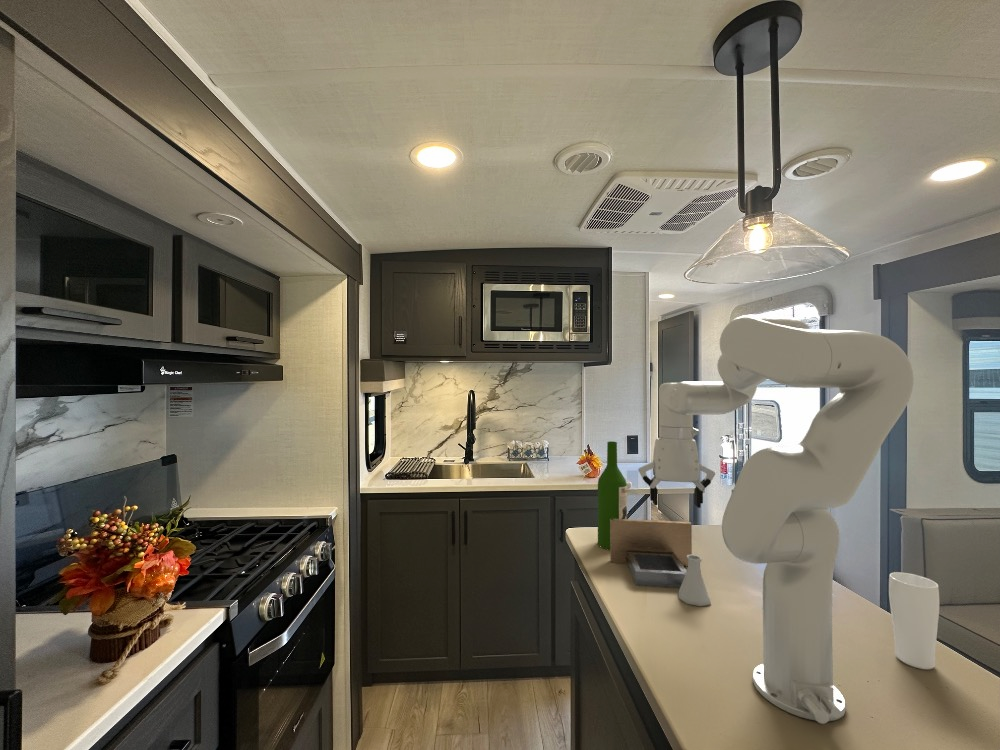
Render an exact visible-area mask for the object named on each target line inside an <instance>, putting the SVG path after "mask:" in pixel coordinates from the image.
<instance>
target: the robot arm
mask: <svg viewBox="0 0 1000 750" xmlns="http://www.w3.org/2000/svg"><path fill="white" fill-rule="evenodd" d="M719 349H720V352H721V355H720V356H719V358H718V360H717V363H716V364H717V371H718V375H719V376H720V378H721V379H722V380H720V381H713V380H712V381H710V380H709V381H707V380H706V381H700V380H699V381H698V380H697V381H679V382H664V383H662V384H660V386H659V388H658V405H659V406H658V409H659V411H658V422H659V423H658V429H659V431H658V432H659V433H658V435H659V437H656V438H655V441H654V448H653V457H652V462H649V463H647V464H645V465H643V466H641V467H639V468H638V473H639V474H640V476H641V478H642V480H643V481H644V482H645V484H647V485H648V487H649V500H650V501H652V504H653V505H654V506H658V500H659V499H658V494H659V492H658V488H657V486H658V485H659V483H661V482H672V483H673V482H674V483H693V485H695V487H694V489H693V491H694V493H693V496H694V497H693V499H694V501H693V502H694V503H693V504H694V506H696V508H697V509H698V508H699V509H700V508H702V507H701V504H703V503H704V491H705V489H706V488H707V487H708V486H710V485H711V483H712V480H713V479H714V477H715V476H716V472H715V471H714V470H712V469H710V468H708V467H706V466H705V465H702V464H700V460H699V451H698V445H697V441H696V440H695V439H694V437H695V436H700V430H699V429H698V428H694V426H693V421H694V419H693V417H694V416H700V415H705V416H706V415H714V416H718V415H725V414H730V413H732V412H733V411H736V410H738V409H740V408H741V407H743V406H745V405H747V404H748V403H750V402H751V400H753V398H754V396H755V394H756V391H757V388H758V385H760V384H762V383H763V382H765V381H767V380H769V381H771V382H774V383H777V384H780V385H782V386H786V387H791V388H802V389H803V388H806V389H807V388H814V389H815V388H817V389H818V388H819V389H821V388H824V389H825V388H829V389H831V388H832V389H833V388H834V389H835V388H839V390H838V392H837V394H836V395H834V397H833V398H831V399H830V400H828V402H826V403H825V404H824V405H823V407H821V408H820V409H819V411H818V412H817V413H816V414H815V416H814V418H813V419H812V421H811V423H810V426H809V428H808V431H807V432H806V434H805V436H804V437H803V439H802V440H801V441H800V442H799V443H798V444H795V445H793V446H792V445H791V446H773V447H772V446H771V447H766V448H763V449H760V450H758V451H756V452H754V453H753V454H752V455H751V456H750V457H748V459H747V460H746V461H745V462H744V464H743V466H742V468H741V470H740V473H739V475H738V477H737V480H736V482H735V484H734V488H733V490H732V491H731V494H730V497H729V499H728V502H727V504H726V506H725V510H724V512H723V517H722V521H721V533H722V538H723V543H724V544H725V546H726V548H727V549H728V551H729V552H730V553H731V555H733V556H734V557H736V558H737V559H739V560H741V561H742V562H744V563H745V562H746V563H750V564H754V565H755V564H759V565H760V564H765V568H764V571H763V577H762V659H763V660H762V663H761V664H759V665H756V667H755V668H753V671H752V680H753V681H752V682H753V685H754V687H755V689H756V690H757V692H759V693H760V695H761V696H762V697H763V698H765V699H766V700H767V701H768V702H769V703H771V704H773V705H774V706H775V707H777V708H779V709H781V710H783V711H784V712H787V713H789V714H792V715H794V716H796V717H798V718H799V717H800V718H802V719H803V718H804V719H807V720H811V721H816V722H818V723H819V724H823V725H824V724H827V723H828V722H832V721H836V720H840V719H841V718H842V717H844V715H845V713H846V711H847V710H846V708H847V707H846V699H845V698H844V695H843V694H842V693H841V692H840V690H839V689H838V688H837V687H836V686H835V685H834V673H833V672H834V668H833V667H834V665H833V663H834V661H833V660H834V659H833V658H834V656H833V655H834V654H833V653H834V651H833V650H834V649H833V648H834V647H833V582H834V578H833V577H834V573H835V572H834V571H835V570H834V569H835V566H836V564H835V563H836V561H837V557H838V551H839V547H840V531H839V527H838V526H839V525H838V523H837V521H836V519H835V518H834V516H833V514H831V512H829V511H830V510H828V509H834V508H839V507H842V506H844V505H847V504H848V503H849V502H850V500H851V499H852V498H853V497H854V495H855V494H856V492H857V490H858V488H859V487H860V485H861V483H862V481H863V479H864V478H865V476H866V474H867V473H868V471H869V470H870V469H869V468H871V466H872V463H873V462H874V460H875V459H876V457H877V455H878V452H879V451H880V449H881V446H882V445H883V443H884V442H885V440H886V438H887V437H888V435H889V433H890V432H891V430H893V427H894V426H895V424H896V423H897V422H898V420H899V418H901V416H902V414H903V412H904V411H905V409H906V407H907V406H908V404H909V401H910V399H911V397H912V393H913V389H914V381H915V380H914V372H913V368H912V364H911V361H910V359H909V357H908V356H907V354H906V353H905V351H904V350H903V349H902V348H901V347H900V345H898V344H897V343H896V342H894V341H893V340H891V339H890V338H889V337H886V336H883V335H880V334H877V333H872V332H868V331H861V330H848V329H847V330H843V329H842V330H841V329H840V330H839V329H813V328H812V329H811V327H809V325H808V324H807V323H805V322H804V321H802V320H800V319H798V318H796V317H792V316H785V315H784V316H783V315H782V316H781V315H764V314H763V315H759V314H745V315H742V316H737V317H736V318H734V319H733V320H731V321H729V323H727V324H726V326H725V327H724V328H723V330H722V332H721V334H720V338H719ZM650 470H652V474H653V477H652V478H649V476H648V475H647V472H649V471H650ZM700 471H701V472H703V473H704V474H706V475H705V478H703V479H702V480H701V481H700V475H701V473H700Z"/></svg>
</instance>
